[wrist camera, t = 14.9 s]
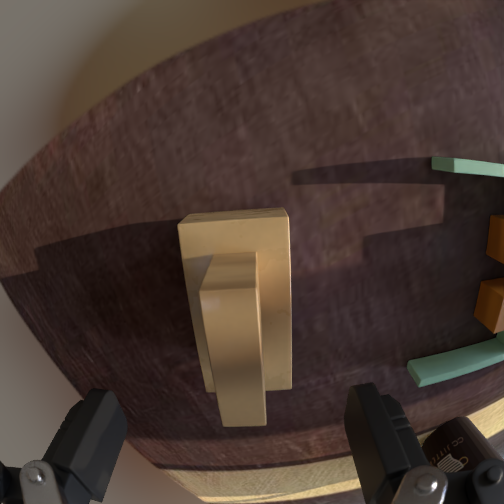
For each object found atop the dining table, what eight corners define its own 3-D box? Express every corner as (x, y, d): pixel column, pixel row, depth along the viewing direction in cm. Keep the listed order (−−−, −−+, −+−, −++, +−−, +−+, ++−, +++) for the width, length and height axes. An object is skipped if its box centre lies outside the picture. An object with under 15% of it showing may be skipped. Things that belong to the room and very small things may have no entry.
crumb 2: (473, 315, 19) (493, 334, 16) (481, 280, 18) (504, 296, 15) (496, 309, 19) (516, 326, 16) (504, 276, 18) (526, 291, 15)
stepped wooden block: (286, 354, 20) (298, 441, 12) (212, 358, 20) (196, 444, 13) (282, 204, 17) (302, 241, 9) (192, 210, 17) (147, 251, 10)
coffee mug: (474, 397, 22) (517, 461, 12) (478, 428, 24) (510, 482, 15) (380, 456, 24) (404, 531, 15) (398, 477, 26) (419, 537, 17)
